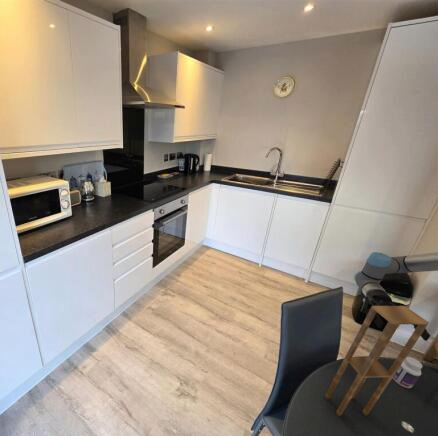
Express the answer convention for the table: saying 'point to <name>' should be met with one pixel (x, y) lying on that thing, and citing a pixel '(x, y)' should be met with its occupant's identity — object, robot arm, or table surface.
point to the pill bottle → (408, 372)
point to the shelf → (399, 315)
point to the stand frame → (371, 363)
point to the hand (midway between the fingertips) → (403, 331)
